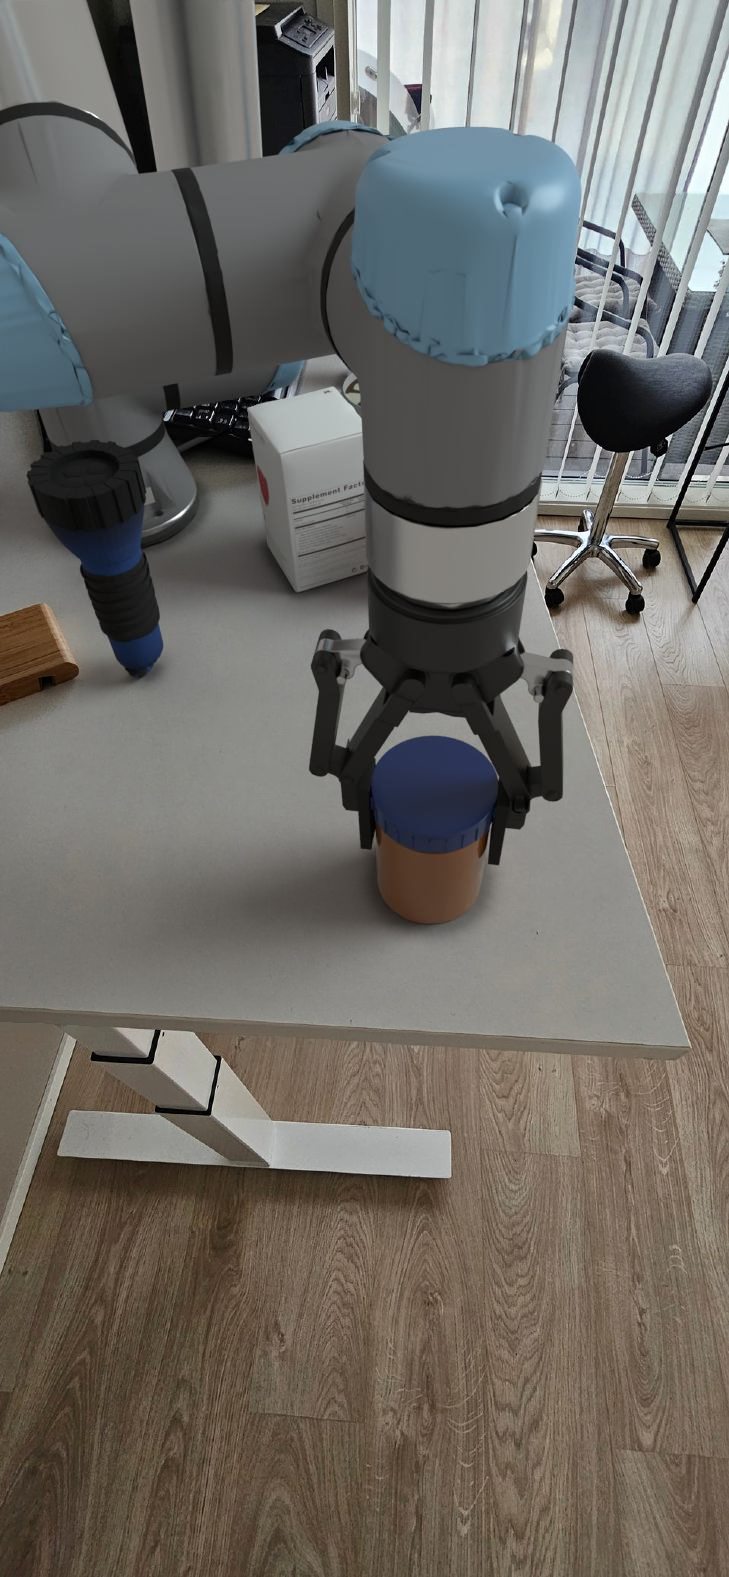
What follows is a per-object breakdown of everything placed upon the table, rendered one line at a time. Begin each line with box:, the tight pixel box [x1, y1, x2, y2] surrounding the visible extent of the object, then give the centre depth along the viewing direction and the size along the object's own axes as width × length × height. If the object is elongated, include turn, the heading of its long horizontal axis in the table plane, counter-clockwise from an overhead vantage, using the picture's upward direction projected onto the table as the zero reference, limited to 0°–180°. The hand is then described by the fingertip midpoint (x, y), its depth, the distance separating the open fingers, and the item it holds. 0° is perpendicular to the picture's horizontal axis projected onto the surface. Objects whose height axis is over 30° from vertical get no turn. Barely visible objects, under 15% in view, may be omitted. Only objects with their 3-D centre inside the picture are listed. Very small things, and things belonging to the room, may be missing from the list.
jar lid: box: [370, 735, 499, 853], centre depth 51 cm, size 8×8×2 cm
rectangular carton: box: [246, 386, 368, 593], centre depth 78 cm, size 9×9×15 cm
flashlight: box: [26, 440, 164, 679], centre depth 66 cm, size 8×8×20 cm
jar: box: [375, 821, 491, 925], centre depth 55 cm, size 8×8×11 cm
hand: (431, 840), depth 55 cm, fingers closed on jar lid, 8 cm apart
